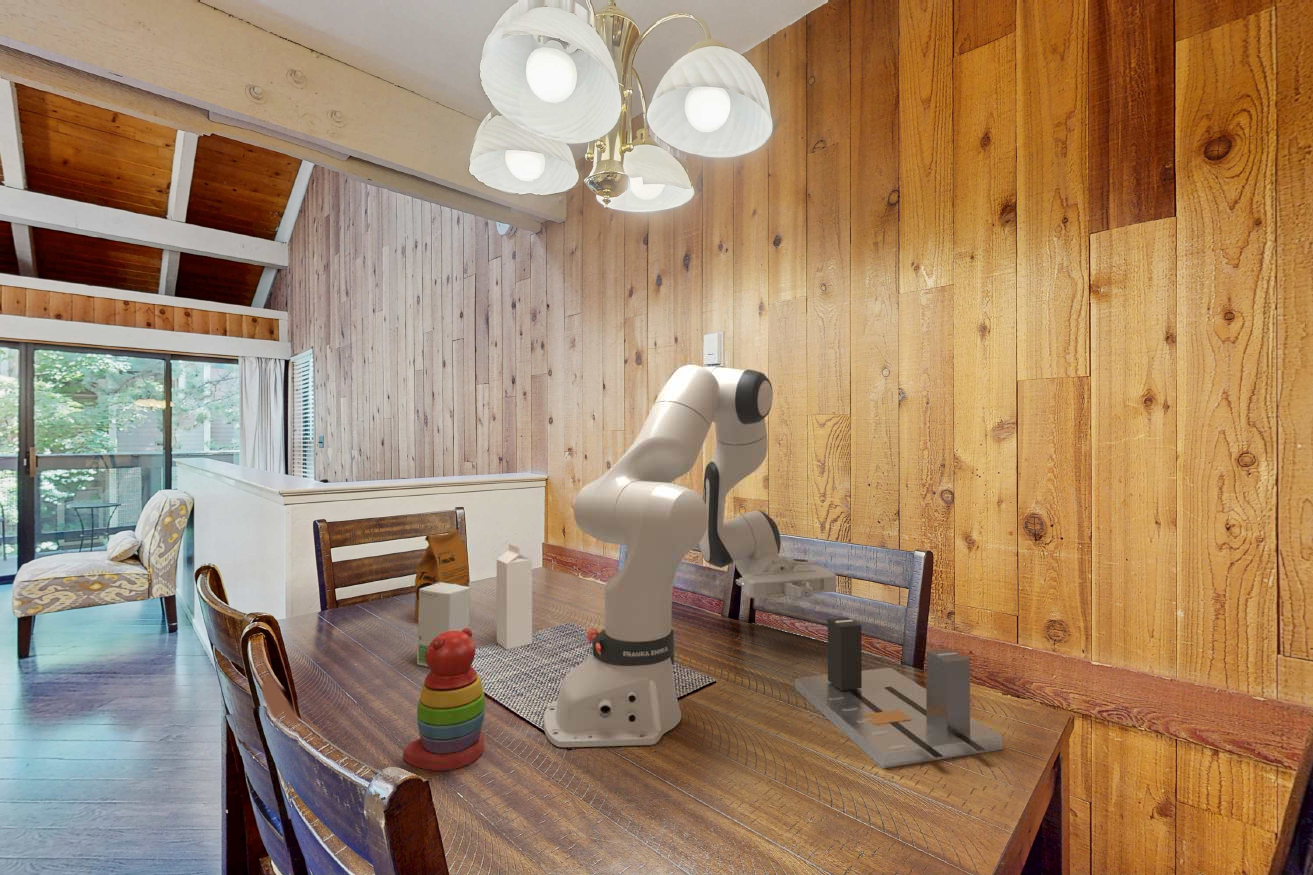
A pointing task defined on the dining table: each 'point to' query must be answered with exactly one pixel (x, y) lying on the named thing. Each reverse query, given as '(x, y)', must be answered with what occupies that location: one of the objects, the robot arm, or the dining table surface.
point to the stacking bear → (449, 706)
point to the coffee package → (442, 563)
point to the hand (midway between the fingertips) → (806, 592)
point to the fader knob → (844, 653)
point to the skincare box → (441, 613)
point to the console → (906, 712)
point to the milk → (514, 599)
